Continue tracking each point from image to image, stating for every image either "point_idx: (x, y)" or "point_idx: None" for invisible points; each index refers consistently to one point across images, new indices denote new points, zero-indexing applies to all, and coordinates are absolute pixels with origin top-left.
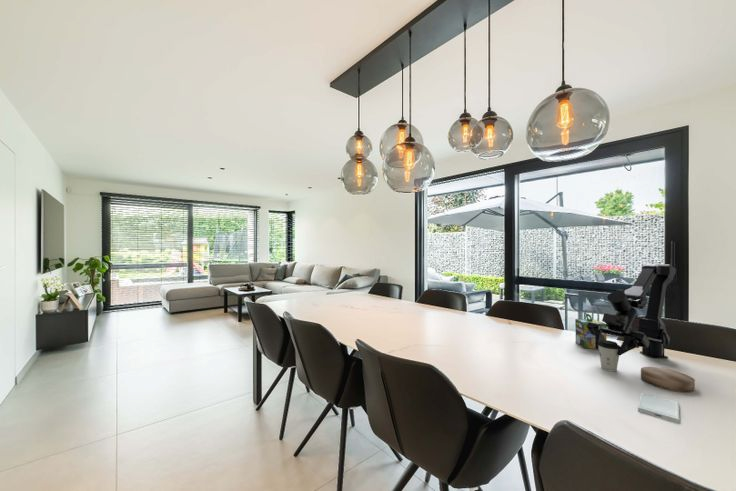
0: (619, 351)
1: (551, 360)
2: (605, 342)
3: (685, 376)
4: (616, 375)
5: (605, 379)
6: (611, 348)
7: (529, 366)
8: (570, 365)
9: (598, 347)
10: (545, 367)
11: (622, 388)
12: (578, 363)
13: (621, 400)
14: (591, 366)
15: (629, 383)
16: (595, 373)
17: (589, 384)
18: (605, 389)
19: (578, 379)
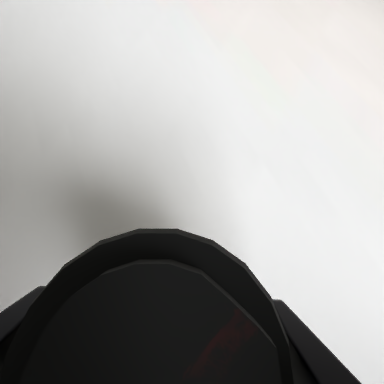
0: (17, 308)
1: (376, 153)
2: (173, 298)
3: None
4: (97, 238)
5: (113, 134)
6: (86, 253)
7: (342, 21)
8: (292, 168)
9: None
10: (314, 57)
11: (33, 98)
12: (298, 239)
13: (13, 4)
14: None
15: (22, 181)
16: (172, 169)
17: (131, 39)
18: (76, 42)
19: (177, 49)
